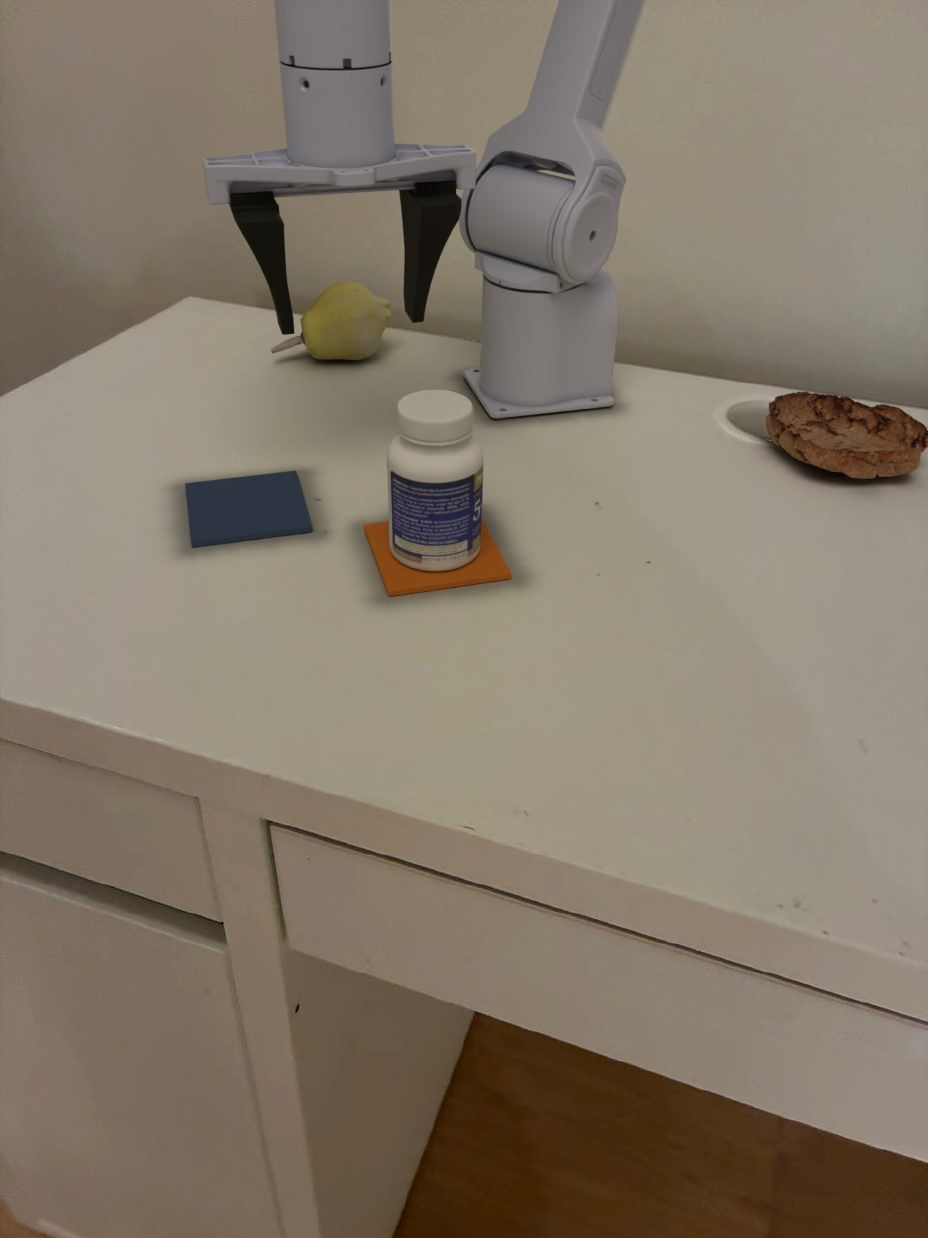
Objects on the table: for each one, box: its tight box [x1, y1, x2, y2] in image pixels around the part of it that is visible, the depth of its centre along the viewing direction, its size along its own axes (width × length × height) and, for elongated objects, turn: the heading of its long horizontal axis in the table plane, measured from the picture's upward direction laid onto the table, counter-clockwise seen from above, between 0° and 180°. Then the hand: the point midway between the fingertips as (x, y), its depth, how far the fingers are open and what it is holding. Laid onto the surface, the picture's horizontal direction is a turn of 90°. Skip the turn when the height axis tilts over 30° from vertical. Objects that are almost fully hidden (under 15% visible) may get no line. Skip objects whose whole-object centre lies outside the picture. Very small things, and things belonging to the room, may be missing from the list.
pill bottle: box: [386, 389, 484, 571], centre depth 54 cm, size 5×5×9 cm
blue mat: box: [184, 470, 313, 548], centre depth 61 cm, size 7×7×1 cm
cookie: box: [765, 390, 928, 480], centre depth 67 cm, size 10×11×3 cm
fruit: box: [270, 281, 392, 361], centre depth 78 cm, size 6×6×10 cm
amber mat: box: [363, 519, 512, 597], centre depth 57 cm, size 7×7×1 cm
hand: (351, 322), depth 59 cm, fingers open, 7 cm apart
